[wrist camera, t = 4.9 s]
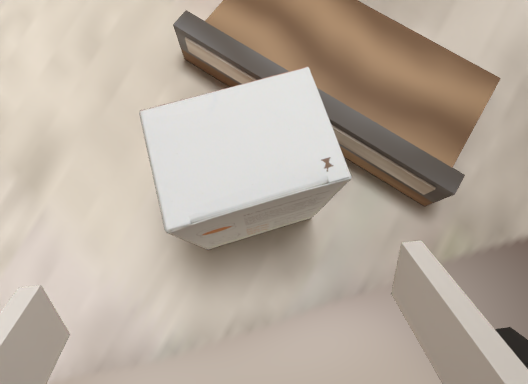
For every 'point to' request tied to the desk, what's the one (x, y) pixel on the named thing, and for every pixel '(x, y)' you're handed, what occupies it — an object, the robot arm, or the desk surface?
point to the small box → (243, 159)
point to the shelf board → (355, 81)
